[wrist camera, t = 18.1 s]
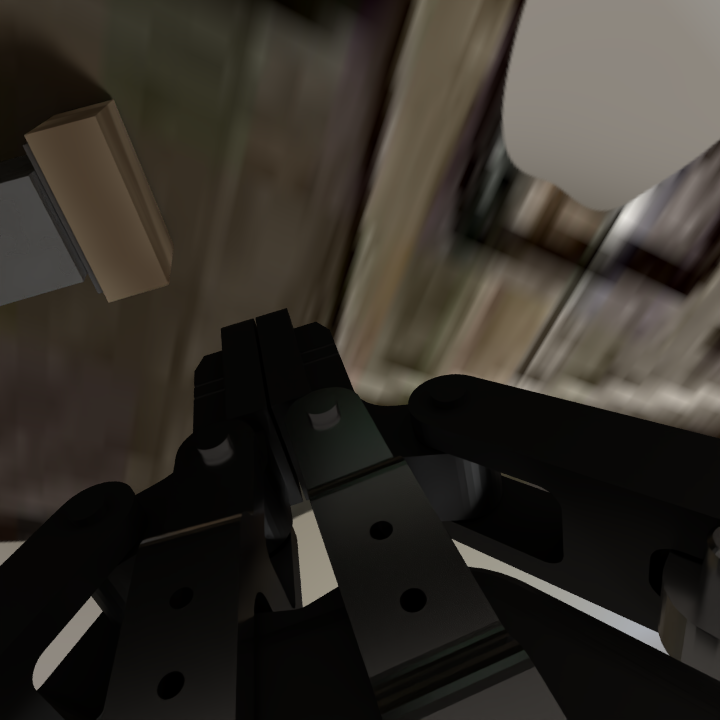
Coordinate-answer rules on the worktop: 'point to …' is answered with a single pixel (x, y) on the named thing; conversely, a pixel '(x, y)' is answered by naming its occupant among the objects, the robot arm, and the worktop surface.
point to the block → (32, 237)
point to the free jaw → (103, 199)
